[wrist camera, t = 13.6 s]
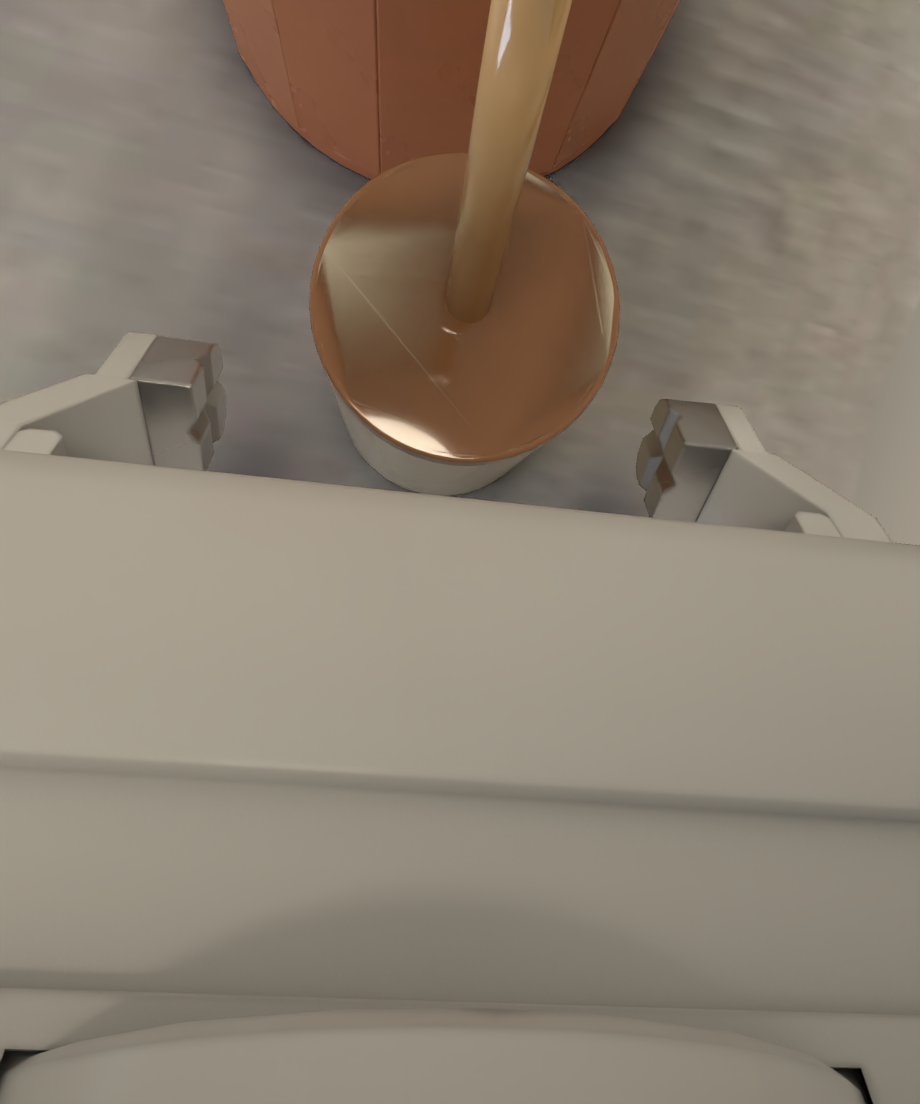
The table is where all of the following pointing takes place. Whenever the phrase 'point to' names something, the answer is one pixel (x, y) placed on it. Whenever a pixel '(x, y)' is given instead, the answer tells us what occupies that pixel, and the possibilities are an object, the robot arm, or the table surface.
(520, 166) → the crock
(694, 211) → the table surface
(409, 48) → the pot
